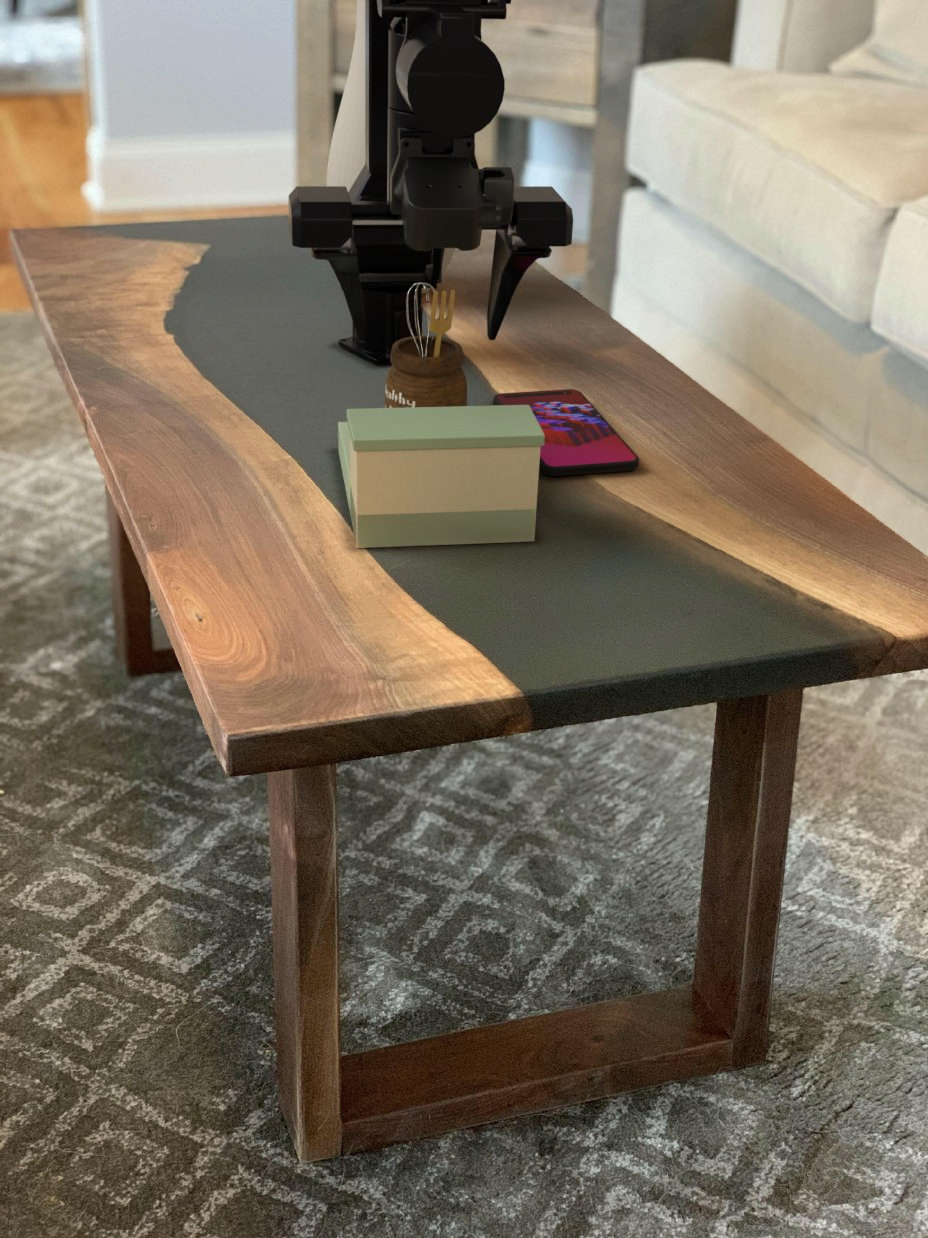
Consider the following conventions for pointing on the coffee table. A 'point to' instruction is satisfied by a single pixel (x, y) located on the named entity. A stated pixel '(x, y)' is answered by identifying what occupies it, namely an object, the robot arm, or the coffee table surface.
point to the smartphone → (573, 434)
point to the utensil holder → (427, 364)
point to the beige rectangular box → (441, 474)
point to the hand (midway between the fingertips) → (426, 339)
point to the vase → (355, 124)
